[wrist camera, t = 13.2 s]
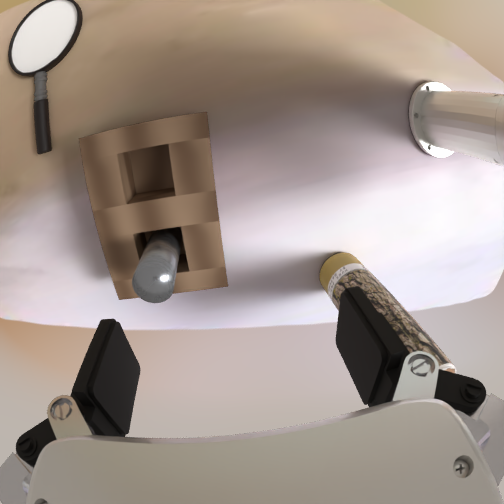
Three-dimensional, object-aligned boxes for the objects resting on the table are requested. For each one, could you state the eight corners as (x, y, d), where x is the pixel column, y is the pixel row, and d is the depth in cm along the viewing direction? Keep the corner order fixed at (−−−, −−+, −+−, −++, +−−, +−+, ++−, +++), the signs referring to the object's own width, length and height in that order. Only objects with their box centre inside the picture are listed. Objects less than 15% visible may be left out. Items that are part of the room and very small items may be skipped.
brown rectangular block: (207, 114, 31) (206, 111, 26) (224, 263, 40) (228, 286, 34) (98, 135, 30) (78, 138, 24) (129, 276, 38) (119, 299, 33)
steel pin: (179, 219, 35) (168, 263, 24) (185, 247, 37) (178, 300, 26) (149, 223, 35) (126, 268, 24) (155, 252, 36) (138, 305, 26)
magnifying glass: (17, 162, 29) (9, 164, 27) (19, 20, 19) (12, 17, 17) (86, 141, 30) (79, 142, 28) (88, -11, 20) (82, -17, 18)
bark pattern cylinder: (321, 295, 45) (397, 422, 22) (313, 259, 42) (404, 391, 19) (359, 280, 45) (448, 392, 22) (354, 244, 42) (463, 355, 19)
